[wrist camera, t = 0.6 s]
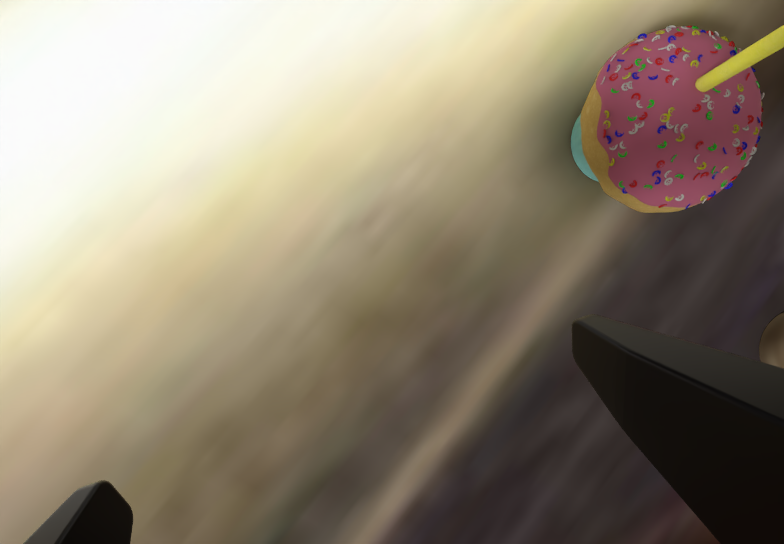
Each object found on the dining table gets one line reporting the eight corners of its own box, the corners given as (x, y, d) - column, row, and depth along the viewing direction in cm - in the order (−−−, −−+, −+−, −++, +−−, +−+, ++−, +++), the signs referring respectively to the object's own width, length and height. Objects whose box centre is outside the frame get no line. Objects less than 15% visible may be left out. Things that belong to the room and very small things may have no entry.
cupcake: (514, 118, 24) (694, 8, 12) (631, 36, 24) (919, -151, 12) (588, 242, 25) (817, 255, 13) (698, 162, 25) (1015, 104, 14)
